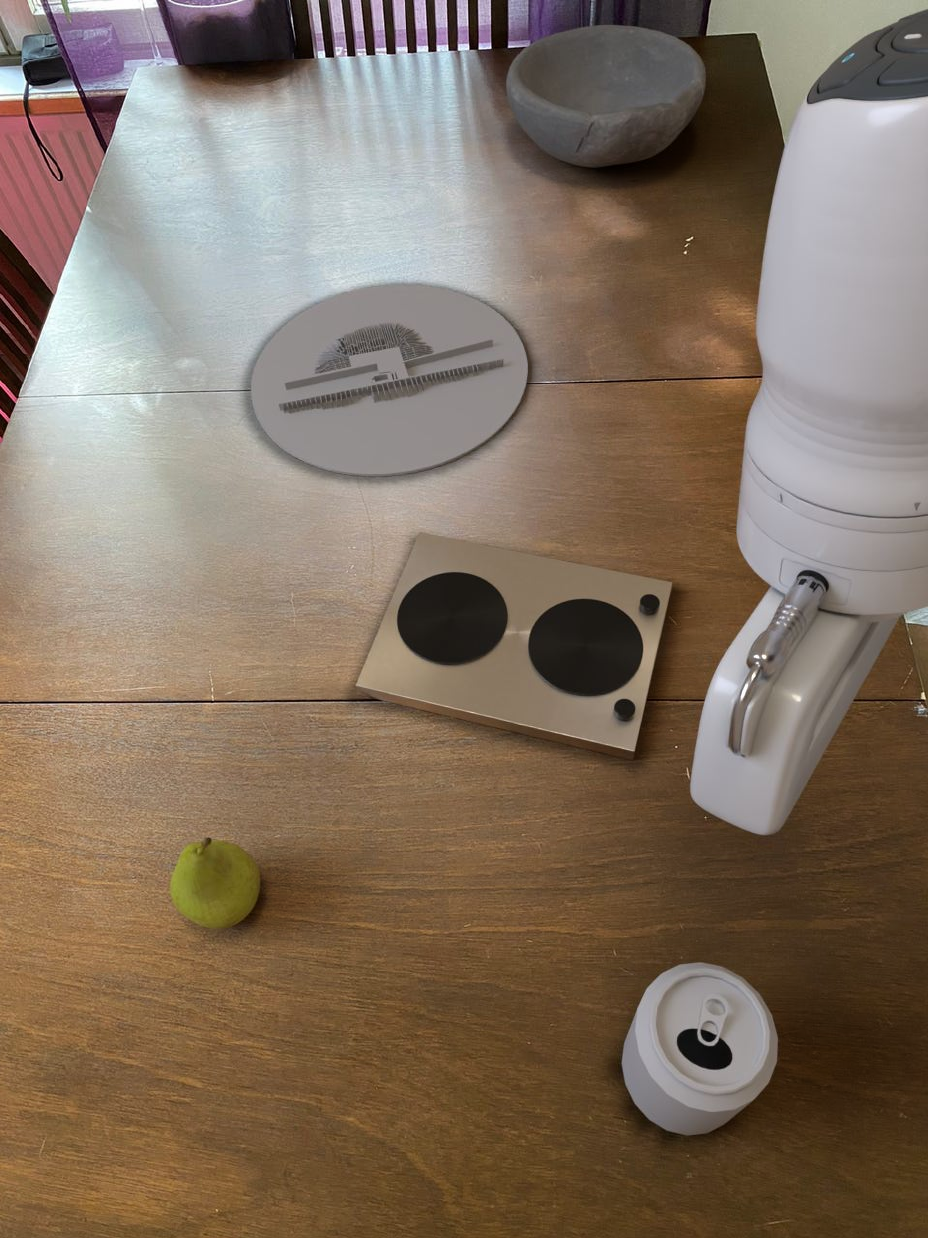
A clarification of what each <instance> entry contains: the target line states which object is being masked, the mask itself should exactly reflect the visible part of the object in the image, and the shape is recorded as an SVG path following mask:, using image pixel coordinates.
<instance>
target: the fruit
mask: <svg viewBox="0 0 928 1238" xmlns="http://www.w3.org/2000/svg"><path fill="white" fill-rule="evenodd" d="M169 883H170V884H169V895H170V898H171V900H172V904H173V905H174V907H175V908H176V910H177V911H178V912H179V913H180V914H181V915H182V916H183V917H184V918H186V919H187V920H189V921H191V922H192V923H194V924H196V925H198V926H200V927H203V928H206V929H210V930H211V929H212V930H223V929H228V928H231V927H233V926H235V925H237V924H239V923H240V922H241V921H244V919H246V917H247V916H248V915H249V914H250V913H251V911H253V909H254V907H255V906H256V903H257V901H258V898H259V894H260V890H261V872H260V869H259V867H258V864H257V862H256V861H255V860H254V858H253V857H252V855H251V854H250V852H248V851H246V850H245V849H244V848H242V847H241V846H239V845H238V844H236V843H235V844H234V843H231V842H229V841H224V840H219V839H218V840H217V839H215V840H212V838H211V837H205V839H203V840H202V841H196V842H191V843H189V844H187V845H186V846H185V847H184V848H183V849H182V851H181V853H180V855H179V857H178V860H177V864H176V865H175V867H174V870H173V872H172V874H171V878H170V882H169Z"/></svg>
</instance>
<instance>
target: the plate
mask: <svg viewBox="0 0 928 1238" xmlns="http://www.w3.org/2000/svg"><path fill="white" fill-rule="evenodd" d="M528 375H529V362H528V357H527V353H526V349H525V346H524V344H523V342H522V340H521V338H520V336H519V334H518V333H517V331H516V329H515V328H514V327H513V326H512V324H511V323H509V321H508V320H507V319H506V318H505V317H504V316H503V315H502V314H501V313H499V312H497V310H495V309H494V308H492V307H491V306H489V305H487V304H486V303H485V302H482V301H480V300H478V299H476V298H474V297H471V296H469V295H467V294H464V293H461V292H459V291H454V290H452V289H447V288H443V287H438V286H432V285H424V284H408V283H407V284H405V283H403V284H399V283H398V284H396V283H395V284H384V285H376V286H369V287H364V288H359V289H355V290H351V291H348V292H344V293H340V294H338V295H335V296H333V297H329V298H328V299H326V300H323V301H320V302H319V303H317V304H315V305H312V306H311V307H309V308H307V309H306V310H304V311H302V312H300V313H299V314H297V315H296V316H294V317H293V318H292V319H291V320H289V321H288V322H287V323H286V324H285V325H284V326H283V327H281V328H280V329H279V330H278V331H277V332H276V333H275V334H274V335H273V337H272V338H271V339H270V340H269V341H268V342H267V343H266V345H265V346H264V348H263V350H262V351H261V353H260V354H259V357H258V358H257V360H256V362H255V365H254V368H253V371H252V375H251V377H250V378H251V379H250V380H251V381H250V399H251V403H252V407H253V411H254V414H255V417H256V420H257V421H258V423H259V425H260V426H261V428H262V429H263V431H264V432H265V434H266V436H268V437H269V438H270V440H272V441H273V442H274V444H275V445H276V446H278V447H279V448H280V449H281V450H282V451H284V452H286V453H287V454H288V455H290V456H292V457H294V458H296V459H297V460H300V461H301V462H304V463H306V464H308V465H311V466H312V467H315V468H318V469H321V470H325V471H327V472H331V473H332V472H333V473H338V474H342V475H348V476H353V477H355V476H356V477H368V478H369V477H373V478H374V477H375V478H376V477H377V478H378V477H379V478H380V477H381V478H382V477H383V478H385V477H394V476H403V475H409V474H416V473H420V472H423V471H427V470H432V469H435V468H437V467H441V466H444V465H446V464H449V463H451V462H453V461H456V460H458V459H460V458H462V457H464V456H466V455H468V454H470V453H471V452H473V451H474V450H476V449H478V448H479V447H481V446H482V445H484V444H485V443H487V442H488V441H489V440H490V439H492V438H493V437H494V436H495V435H496V434H497V433H499V432H500V430H501V429H502V428H503V427H504V426H505V425H506V424H507V423H508V422H509V421H510V419H511V418H512V416H513V415H514V414H515V412H516V411H517V409H518V407H519V406H520V404H521V402H522V399H523V398H524V397H523V396H524V394H525V391H526V387H527V384H528Z"/></svg>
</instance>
